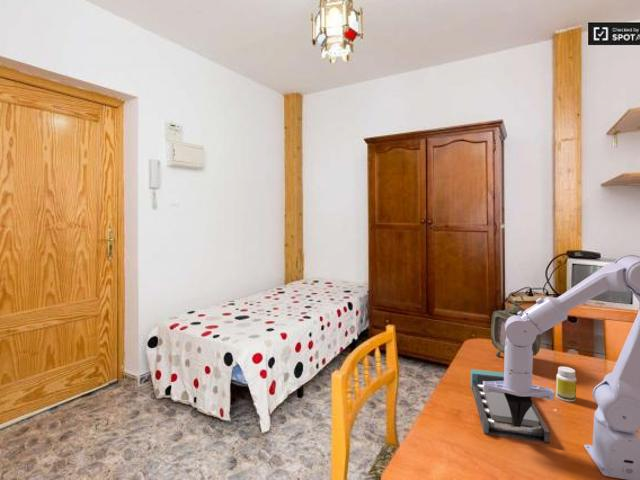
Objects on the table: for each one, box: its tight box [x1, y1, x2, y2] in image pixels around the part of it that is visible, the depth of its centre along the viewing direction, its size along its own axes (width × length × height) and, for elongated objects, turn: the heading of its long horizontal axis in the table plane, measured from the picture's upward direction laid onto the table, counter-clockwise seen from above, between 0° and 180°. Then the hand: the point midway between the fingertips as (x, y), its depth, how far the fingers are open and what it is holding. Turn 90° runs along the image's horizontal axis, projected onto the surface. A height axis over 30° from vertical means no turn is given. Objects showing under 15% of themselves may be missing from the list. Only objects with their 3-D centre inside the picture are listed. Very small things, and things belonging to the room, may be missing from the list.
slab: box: [484, 392, 539, 427], centre depth 89 cm, size 12×10×1 cm
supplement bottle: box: [555, 366, 577, 402], centre depth 100 cm, size 5×5×8 cm
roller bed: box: [471, 381, 551, 444], centre depth 93 cm, size 22×14×3 cm, turn 163°
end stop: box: [470, 368, 504, 389], centre depth 105 cm, size 4×14×5 cm, turn 73°
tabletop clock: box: [490, 291, 542, 357], centre depth 124 cm, size 14×9×25 cm, turn 10°
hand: (516, 424), depth 82 cm, fingers closed, pressing on slab
